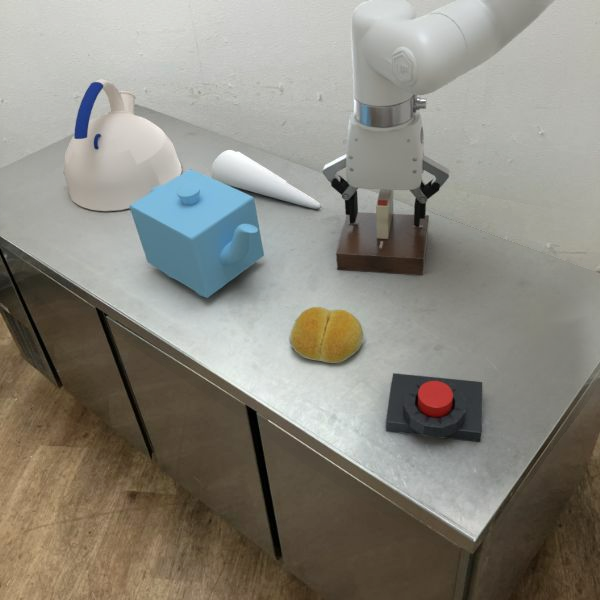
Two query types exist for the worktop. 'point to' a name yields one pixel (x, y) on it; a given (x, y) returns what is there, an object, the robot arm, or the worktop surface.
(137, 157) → the kettle
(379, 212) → the handle
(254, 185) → the long cone
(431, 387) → the button
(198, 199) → the teapot
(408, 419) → the button block
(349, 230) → the panel
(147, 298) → the worktop surface
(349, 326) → the bread roll
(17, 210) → the worktop surface
